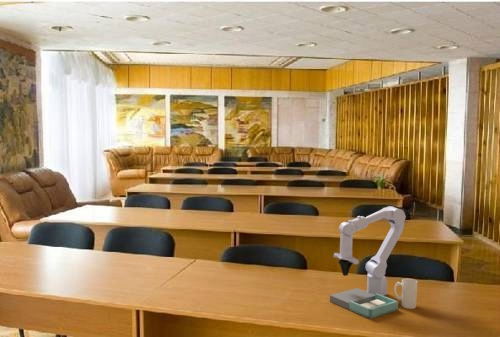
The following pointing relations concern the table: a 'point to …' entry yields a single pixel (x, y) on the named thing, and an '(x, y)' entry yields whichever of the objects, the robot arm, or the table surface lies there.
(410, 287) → the mug
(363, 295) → the grey flat slab
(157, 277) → the table surface
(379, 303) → the tile
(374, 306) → the tile
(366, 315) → the tray
